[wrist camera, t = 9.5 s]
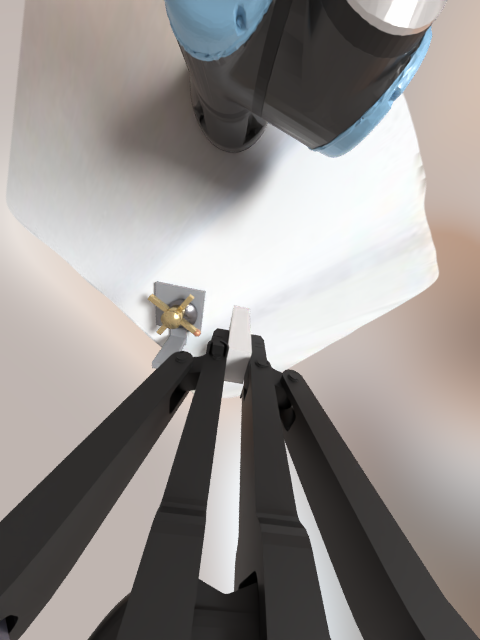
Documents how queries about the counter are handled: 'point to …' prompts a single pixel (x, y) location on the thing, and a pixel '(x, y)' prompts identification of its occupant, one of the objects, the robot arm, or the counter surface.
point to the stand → (178, 335)
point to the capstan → (177, 314)
